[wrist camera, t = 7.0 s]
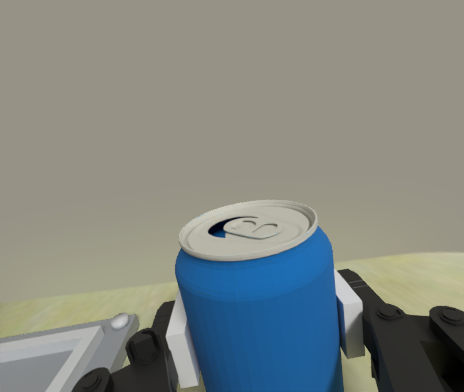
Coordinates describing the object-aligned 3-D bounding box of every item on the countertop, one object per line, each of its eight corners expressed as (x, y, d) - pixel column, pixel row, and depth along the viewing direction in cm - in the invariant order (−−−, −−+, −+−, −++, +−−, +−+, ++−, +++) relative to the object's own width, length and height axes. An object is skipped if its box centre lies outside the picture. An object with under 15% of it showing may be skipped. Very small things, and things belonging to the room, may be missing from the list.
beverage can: (266, 355, 18) (238, 194, 15) (366, 414, 13) (354, 201, 10) (197, 444, 13) (136, 240, 10) (312, 580, 9) (264, 288, 6)
